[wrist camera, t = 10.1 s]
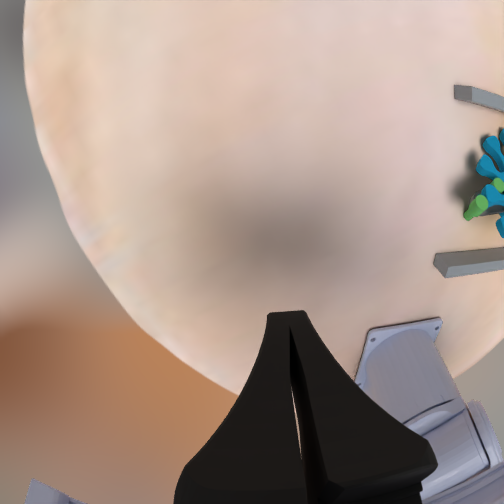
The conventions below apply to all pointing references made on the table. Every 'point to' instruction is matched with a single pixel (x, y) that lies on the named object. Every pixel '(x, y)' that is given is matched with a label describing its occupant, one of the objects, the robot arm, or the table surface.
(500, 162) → the gear
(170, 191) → the table surface
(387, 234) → the table surface
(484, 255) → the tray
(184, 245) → the table surface
